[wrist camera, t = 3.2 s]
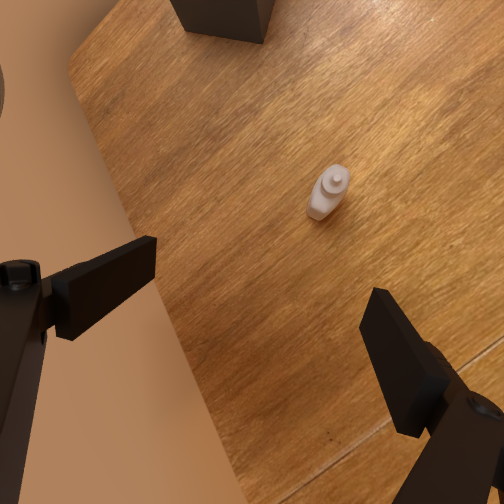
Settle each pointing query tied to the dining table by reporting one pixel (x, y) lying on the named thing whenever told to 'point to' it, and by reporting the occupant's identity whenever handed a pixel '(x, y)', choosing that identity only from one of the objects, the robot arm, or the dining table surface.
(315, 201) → the eye dropper bottle
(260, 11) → the pedestal
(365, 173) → the dining table surface
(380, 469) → the dining table surface
